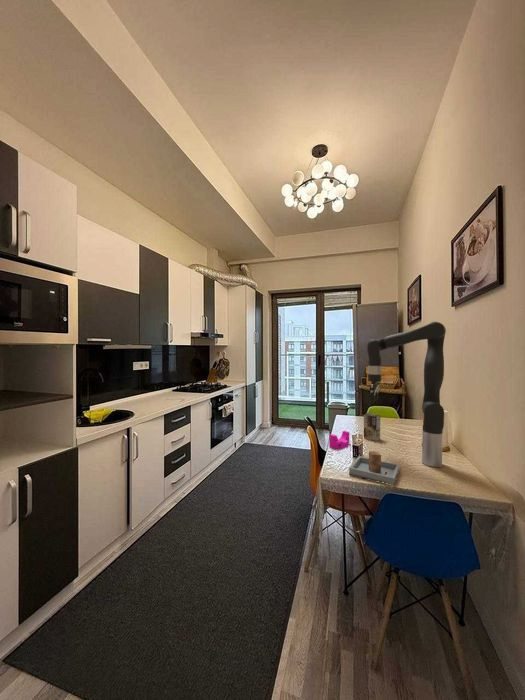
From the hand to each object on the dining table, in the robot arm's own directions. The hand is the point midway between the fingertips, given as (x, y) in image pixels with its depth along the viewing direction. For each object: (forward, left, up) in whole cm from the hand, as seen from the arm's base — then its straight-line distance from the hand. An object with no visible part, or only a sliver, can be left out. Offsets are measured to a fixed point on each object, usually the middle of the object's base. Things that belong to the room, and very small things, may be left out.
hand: (374, 400), depth 172 cm
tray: (-7, +31, -30) cm, 44 cm away
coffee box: (+6, -24, -30) cm, 39 cm away
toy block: (+19, +1, -30) cm, 36 cm away
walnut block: (-7, +31, -29) cm, 43 cm away
